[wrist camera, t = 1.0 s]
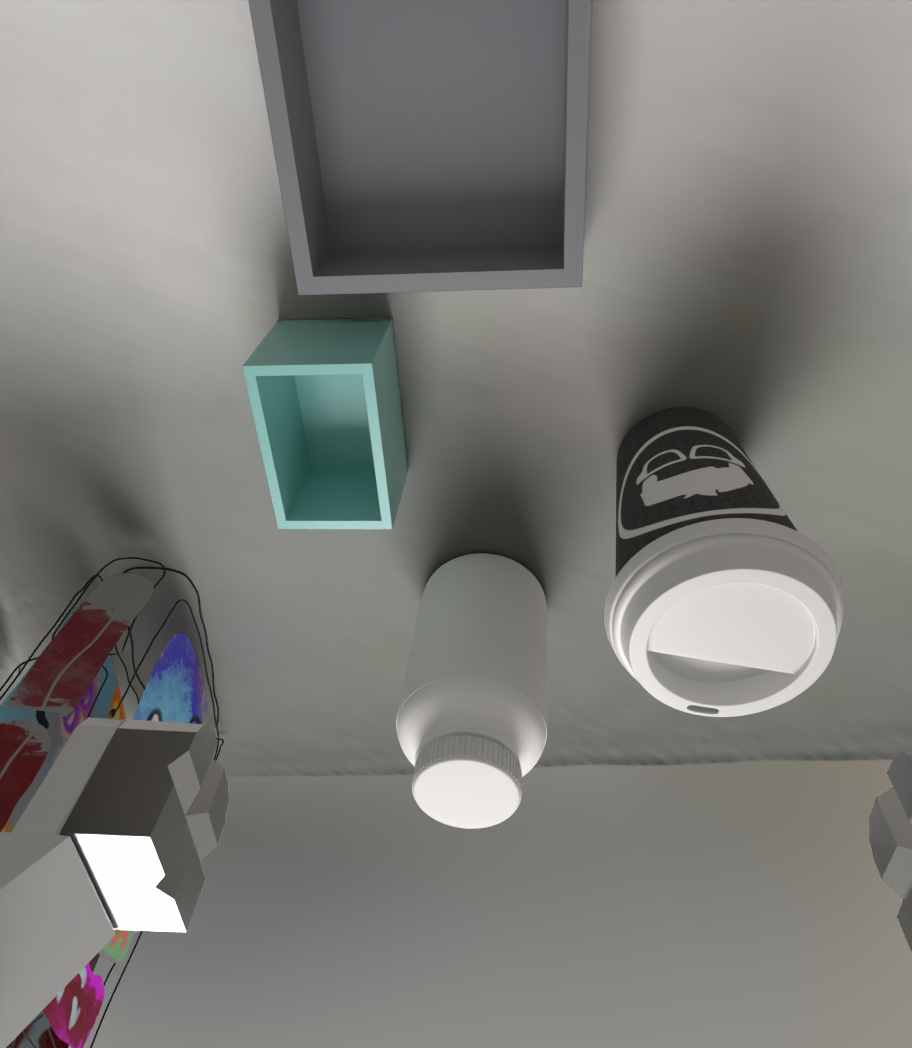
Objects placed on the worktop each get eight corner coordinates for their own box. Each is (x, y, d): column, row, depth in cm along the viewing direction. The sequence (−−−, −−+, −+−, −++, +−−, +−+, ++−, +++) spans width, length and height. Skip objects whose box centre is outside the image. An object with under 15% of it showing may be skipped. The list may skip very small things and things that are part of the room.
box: (67, 438, 46) (-296, 786, 26) (170, 446, 46) (-117, 804, 26) (148, 728, 60) (-48, 1099, 40) (227, 736, 60) (69, 1113, 40)
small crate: (392, 317, 40) (371, 363, 35) (408, 470, 45) (392, 529, 40) (278, 320, 41) (242, 365, 36) (306, 470, 46) (278, 529, 41)
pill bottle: (511, 529, 47) (501, 723, 35) (567, 622, 51) (576, 827, 38) (398, 574, 50) (352, 768, 37) (459, 659, 53) (435, 862, 41)
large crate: (588, -103, 30) (595, -116, 27) (577, 257, 38) (581, 286, 34) (269, -78, 32) (233, -86, 28) (321, 266, 39) (298, 295, 35)
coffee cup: (555, 482, 45) (561, 670, 33) (660, 346, 40) (715, 507, 28) (689, 557, 47) (743, 760, 35) (805, 436, 42) (916, 623, 30)
